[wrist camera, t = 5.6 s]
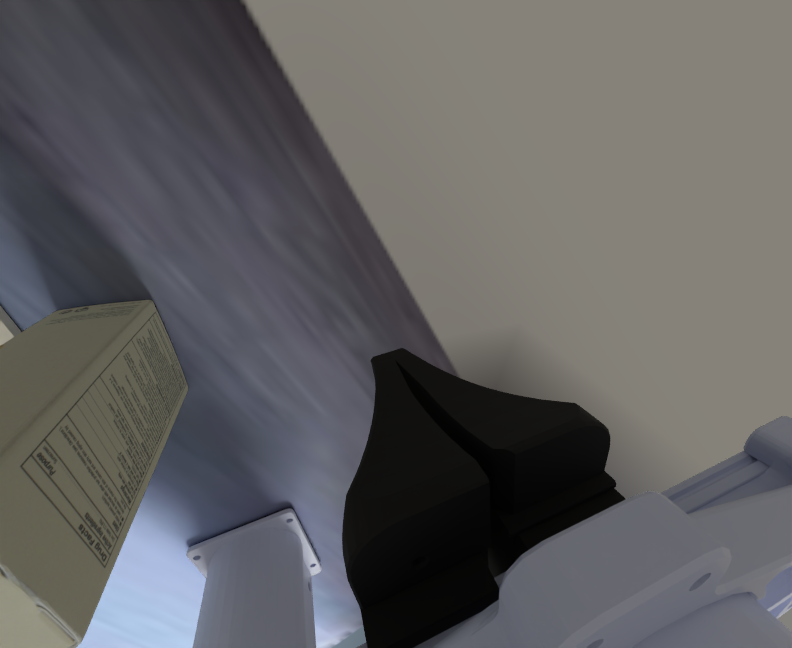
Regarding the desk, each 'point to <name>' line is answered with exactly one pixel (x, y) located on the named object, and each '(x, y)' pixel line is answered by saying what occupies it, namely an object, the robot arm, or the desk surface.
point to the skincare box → (77, 459)
